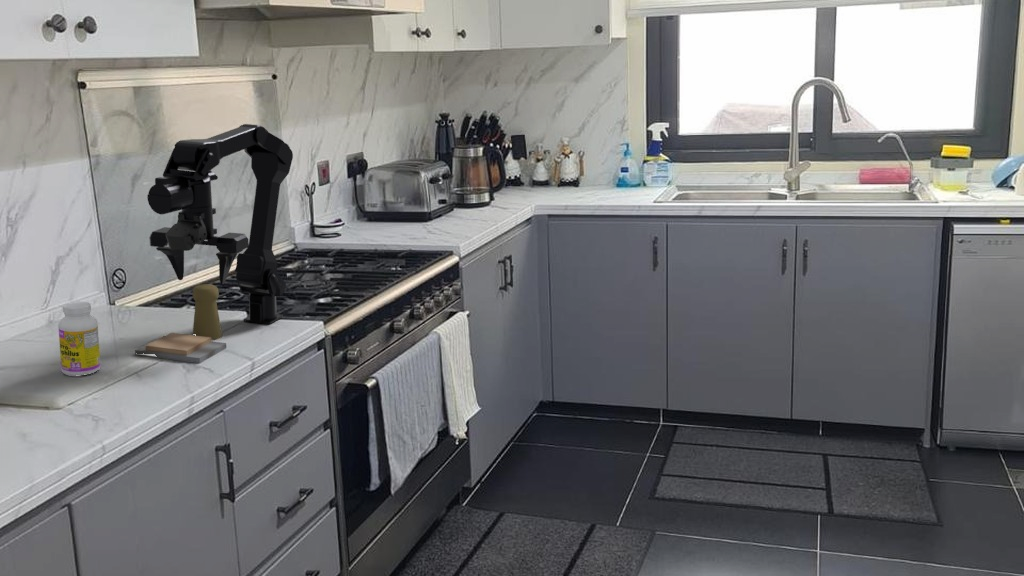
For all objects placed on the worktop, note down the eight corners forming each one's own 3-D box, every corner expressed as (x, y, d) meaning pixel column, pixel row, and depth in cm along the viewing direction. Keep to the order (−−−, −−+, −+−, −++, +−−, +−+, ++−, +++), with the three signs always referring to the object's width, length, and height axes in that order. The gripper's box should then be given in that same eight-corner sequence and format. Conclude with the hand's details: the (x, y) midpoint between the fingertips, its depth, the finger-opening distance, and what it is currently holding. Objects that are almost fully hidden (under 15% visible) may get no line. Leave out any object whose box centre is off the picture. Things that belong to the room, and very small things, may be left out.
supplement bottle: (53, 373, 180) (48, 305, 177) (84, 363, 186) (79, 297, 183) (78, 380, 177) (73, 311, 174) (108, 369, 183) (104, 303, 180)
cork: (195, 341, 201) (192, 290, 198) (189, 333, 206) (187, 282, 203) (225, 338, 204) (223, 287, 201) (219, 330, 209) (217, 280, 206)
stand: (164, 340, 201) (164, 330, 201) (226, 347, 198) (226, 338, 198) (135, 354, 192) (134, 345, 191) (199, 363, 189) (199, 353, 188)
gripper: (130, 209, 187) (136, 288, 191) (219, 216, 183) (224, 296, 187) (162, 199, 197) (168, 274, 202) (248, 205, 194) (251, 281, 198)
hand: (201, 281), depth 197 cm, fingers open, 9 cm apart
